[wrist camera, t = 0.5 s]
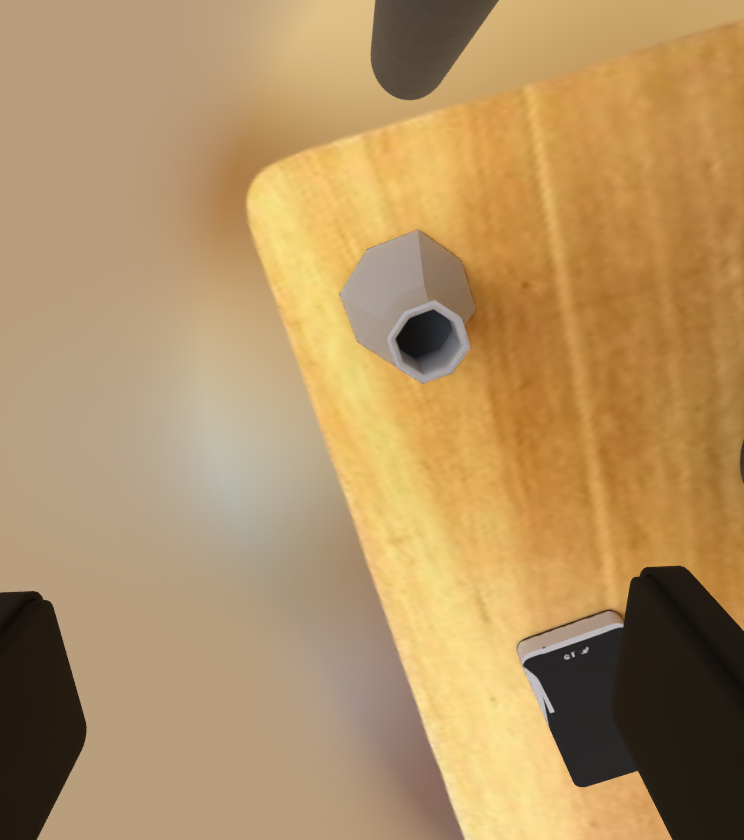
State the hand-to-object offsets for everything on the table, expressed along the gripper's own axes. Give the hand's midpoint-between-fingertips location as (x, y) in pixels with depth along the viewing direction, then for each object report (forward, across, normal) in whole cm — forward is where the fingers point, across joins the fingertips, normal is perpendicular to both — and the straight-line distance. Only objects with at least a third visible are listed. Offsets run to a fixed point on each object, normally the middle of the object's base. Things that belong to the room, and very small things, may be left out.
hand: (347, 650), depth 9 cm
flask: (+25, -3, -2) cm, 25 cm away
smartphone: (+25, -17, +28) cm, 41 cm away
